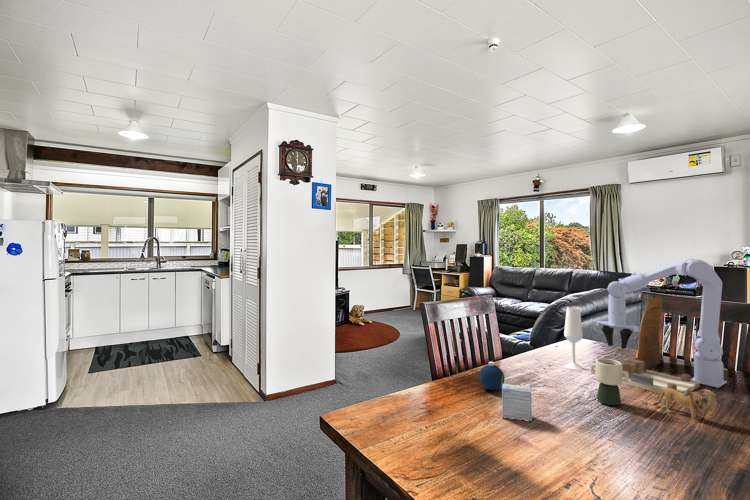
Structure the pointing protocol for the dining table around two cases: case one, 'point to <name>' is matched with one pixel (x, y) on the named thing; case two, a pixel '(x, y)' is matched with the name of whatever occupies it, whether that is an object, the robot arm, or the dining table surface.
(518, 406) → the medicine box
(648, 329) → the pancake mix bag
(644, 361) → the wooden board
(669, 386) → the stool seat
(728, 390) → the dining table surface
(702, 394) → the lion figurine
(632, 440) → the dining table surface
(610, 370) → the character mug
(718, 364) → the robot arm
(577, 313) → the champagne flute
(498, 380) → the christmas ornament
